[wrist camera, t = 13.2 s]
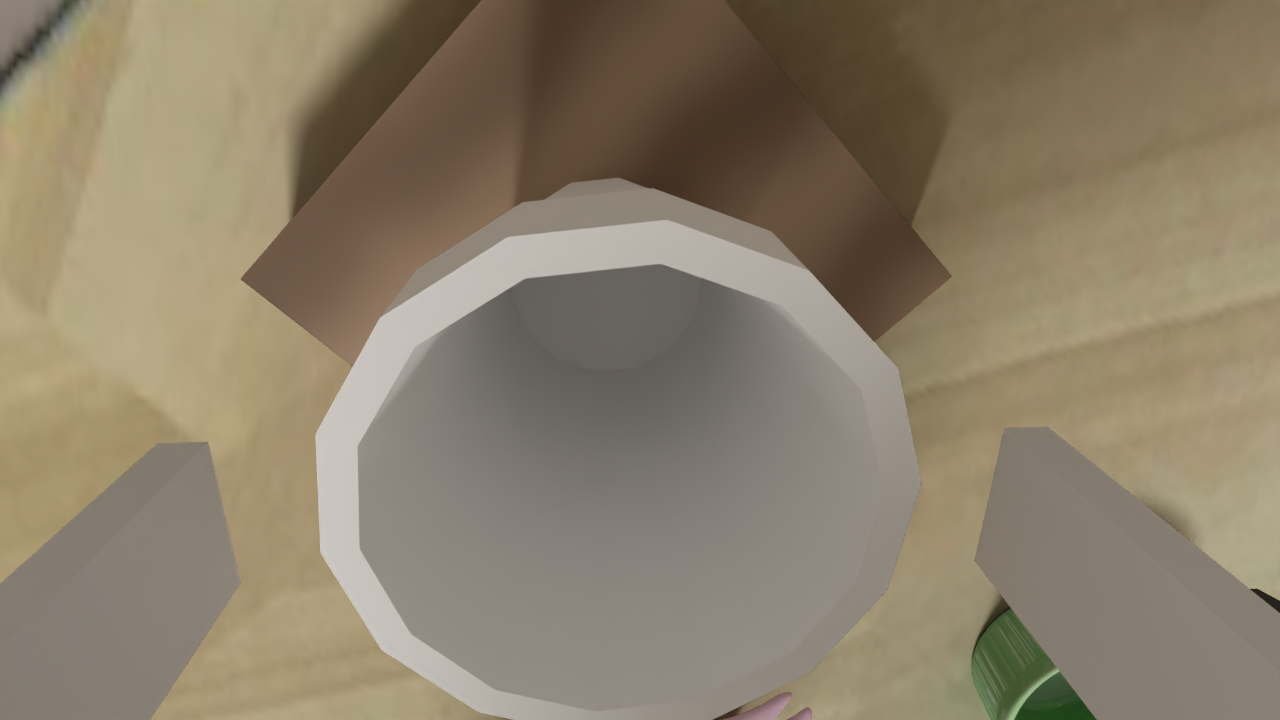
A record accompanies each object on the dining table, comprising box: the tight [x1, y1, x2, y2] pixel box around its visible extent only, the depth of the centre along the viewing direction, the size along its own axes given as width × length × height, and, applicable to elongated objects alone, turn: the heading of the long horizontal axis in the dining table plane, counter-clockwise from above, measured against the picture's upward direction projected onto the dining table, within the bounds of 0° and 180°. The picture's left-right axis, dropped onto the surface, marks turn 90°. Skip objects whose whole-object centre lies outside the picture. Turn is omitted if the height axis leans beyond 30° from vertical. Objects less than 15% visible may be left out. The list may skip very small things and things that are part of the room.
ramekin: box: [972, 608, 1097, 720], centre depth 35 cm, size 9×9×4 cm
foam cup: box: [315, 178, 922, 720], centre depth 18 cm, size 10×9×13 cm
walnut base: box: [241, 0, 952, 366], centre depth 25 cm, size 16×16×4 cm
